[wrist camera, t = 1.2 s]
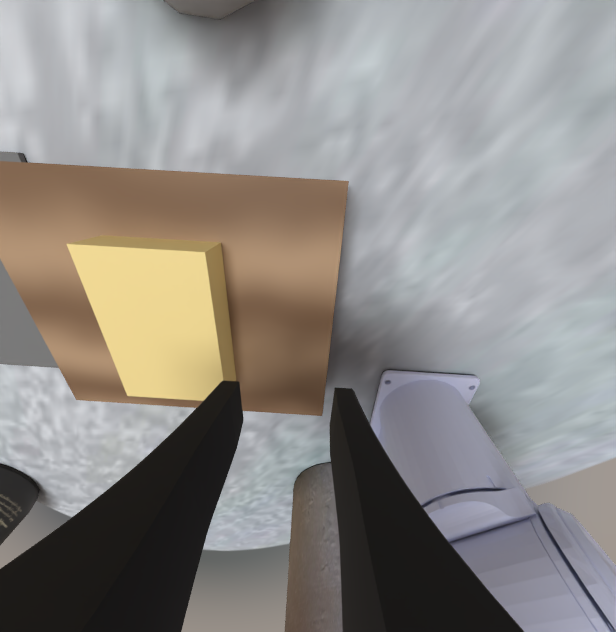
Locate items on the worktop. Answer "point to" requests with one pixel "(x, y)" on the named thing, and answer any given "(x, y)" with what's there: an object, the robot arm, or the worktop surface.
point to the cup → (208, 7)
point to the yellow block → (160, 312)
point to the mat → (19, 318)
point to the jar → (14, 499)
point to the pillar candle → (314, 555)
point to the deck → (194, 225)
